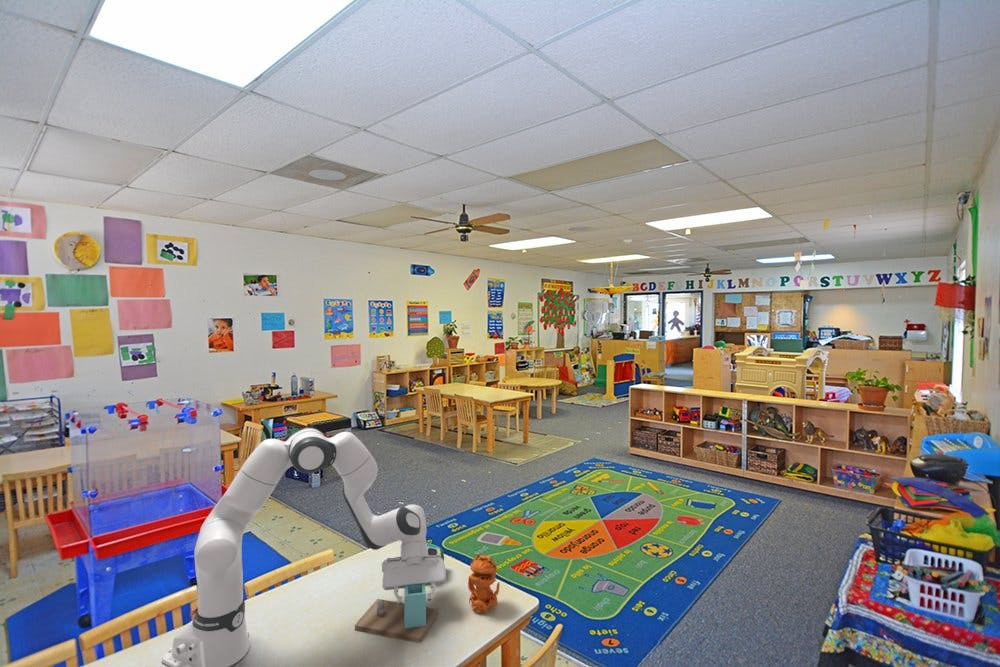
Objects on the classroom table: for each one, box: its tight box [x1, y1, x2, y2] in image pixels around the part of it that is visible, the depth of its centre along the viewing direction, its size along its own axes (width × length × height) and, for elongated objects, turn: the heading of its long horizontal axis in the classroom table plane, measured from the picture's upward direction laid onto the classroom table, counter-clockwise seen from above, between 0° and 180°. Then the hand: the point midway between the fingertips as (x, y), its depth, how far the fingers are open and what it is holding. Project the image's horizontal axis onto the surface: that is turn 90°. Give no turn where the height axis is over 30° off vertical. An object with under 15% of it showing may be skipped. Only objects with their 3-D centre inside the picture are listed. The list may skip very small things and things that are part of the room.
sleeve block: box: [403, 583, 427, 628], centre depth 145 cm, size 6×6×10 cm
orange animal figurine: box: [467, 554, 500, 613], centre depth 154 cm, size 11×11×18 cm
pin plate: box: [354, 598, 439, 644], centre depth 147 cm, size 22×14×6 cm, turn 76°
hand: (415, 601), depth 145 cm, fingers open, 8 cm apart
